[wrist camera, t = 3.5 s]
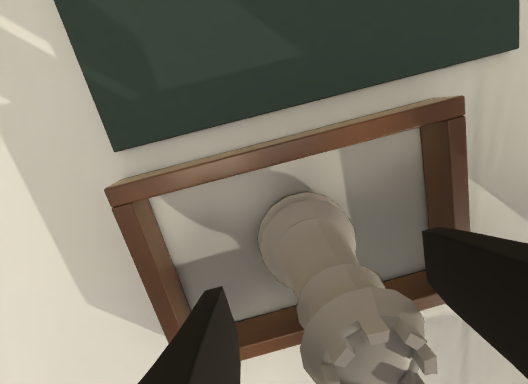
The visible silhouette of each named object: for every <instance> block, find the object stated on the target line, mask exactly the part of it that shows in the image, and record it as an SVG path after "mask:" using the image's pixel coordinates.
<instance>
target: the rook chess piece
mask: <svg viewBox="0 0 528 384" xmlns="http://www.w3.org/2000/svg"><path fill="white" fill-rule="evenodd" d="M258 243H259V247H260V252H261V256H262V257H263V260H264V264H265V265H266V267H267V268H268V269H269V271H270V272H271V273H272V275H273V276H274V277H275V278H276V280H278V281H279V282H281V283H283V284H285V285H286V286H288V287H290V288H292V289H293V291H294V293H295V294H296V296H297V298H298V304H297V313H298V319H299V323H300V324H301V326H302V327H303V328H304V330H305V332H304V335H303V339H302V342H301V346H300V352H301V357H302V362H303V367H304V369H305V370H306V372H307V373H308V374H309V375H310V377H311V378H312V379H313V380H314V381H315V383H316V384H424V382H423V381H422V380H421V378H420V377H419V375H418V374H417V372H418V370H419V368H420V369H421V370H422V372H423V373H424V374H425V375H428V374H437V358H436V355H435V354H434V353H433V352H432V351H431V349H430V348H429V347H428V346H427V345H426V343H427V341H426V339H425V331H424V318H423V317H422V315H421V313H420V311H419V310H418V308H417V306H416V305H415V303H414V301H412V300H410V299H409V298H407V297H405V296H404V295H402V294H401V293H399V292H397V291H396V290H391V289H385V286H384V285H383V283H382V282H381V280H380V278H379V277H378V275H377V274H375V273H374V272H372V271H371V270H369V269H367V268H366V267H364V266H361V265H360V264H359V262H358V260H357V258H356V253H355V250H356V241H355V232H354V228H353V226H352V224H351V222H350V221H349V219H348V218H347V216H346V214H345V213H344V212H343V211H342V210H341V208H340V207H339V205H338V204H336V203H335V202H333V201H332V200H330V199H329V198H327V197H326V196H324V195H319V194H313V193H307V192H305V193H300V194H296V195H291V196H287V197H286V198H284V199H283V200H281V201H280V202H278V203H277V204H275V205H273V206H272V207H271V208H270V210H269V211H268V213H267V214H266V216H265V217H264V218H263V220H262V221H261V225H260V230H259V235H258Z"/></svg>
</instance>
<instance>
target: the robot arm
mask: <svg viewBox="0 0 528 384" xmlns="http://www.w3.org/2000/svg"><path fill="white" fill-rule="evenodd" d="M422 236H423V246H424V257H425V268H426V278H427V282H428V283H429V284H430V286H431V287H432V288H433V289H434V290H435V292H436V293H437V294H438V295H439V296H440V297H441V298H442V300H443V301H444V302H445V303H446V304H447V305H448V306H449V307H450V308H451V309H452V310H453V311H454V312H455V313H456V314H457V315H459V316H460V317H461V318H462V319H463V320H464V321H465V322H466V323H467V324H468V325H469V326H471V327H472V328H473V329H474V330H475V331H476V332H477V333H478V334H479V335H481V336H482V337H483V338H484V339H485V340H486V341H487V342H488V343H489V344H491V345H492V346H493V347H494V348H495V349H496V350H497V351H498V352H499V353H500V354H502V355H503V356H504V357H505V358H506V359H507V360H508V361H509V362H510V363H512V364H513V365H514V366H515V367H516V368H517V369H518V370H519V371H520V372H521V373H522V374H523V375H524V376H525V377H526V378H527V379H528V244H527V243H522V242H517V241H512V240H507V239H502V238H497V237H493V236H488V235H483V234H478V233H473V232H468V231H463V230H458V229H452V228H445V227H436V228H432V229H429V230H425V231H422ZM240 368H241V363H240V349H239V338H238V332H237V329H236V326H235V323H234V320H233V317H232V314H231V311H230V308H229V305H228V302H227V299H226V296H225V293H224V290H223V287H222V286H221V287H217V288H213V289H210V290H206V291H205V292H204V293H203V294H202V296H201V297H200V299H199V300H198V302H197V304H196V305H195V307H194V308H193V310H192V311H191V313H190V314H189V316H188V317H187V319H186V320H185V322H184V323H183V325H182V326H181V328H180V329H179V331H178V332H177V334H176V335H175V336H174V338H173V339H172V340H171V342H170V343H169V345H168V346H167V347H166V349H165V350H164V351H163V353H162V354H161V355H160V357H159V358H158V359H157V361H156V362H155V363H154V365H153V366H152V367H151V368H150V370H149V371H148V372H147V373H146V374H145V376H144V377H143V378H142V379H141V380H140V382H139V383H138V384H240Z"/></svg>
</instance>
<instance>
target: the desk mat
mask: <svg viewBox="0 0 528 384" xmlns="http://www.w3.org/2000/svg"><path fill="white" fill-rule="evenodd" d="M54 2H55V4H56V7H57V9H58V12H59V14H60V17H61V19H62V22H63V25H64V27H65V30H66V32H67V35H68V37H69V40H70V42H71V45H72V47H73V50H74V52H75V55H76V57H77V60H78V62H79V65H80V67H81V70H82V72H83V75H84V77H85V80H86V82H87V85H88V87H89V90H90V92H91V95H92V97H93V100H94V102H95V105H96V107H97V110H98V113H99V115H100V118H101V120H102V123H103V125H104V128H105V130H106V133H107V135H108V138H109V140H110V143H111V145H112V148H113V150H114V152H117V151H121V150H125V149H129V148H133V147H137V146H141V145H145V144H148V143H152V142H156V141H160V140H164V139H168V138H172V137H176V136H180V135H183V134H187V133H191V132H195V131H199V130H203V129H207V128H211V127H215V126H218V125H222V124H226V123H230V122H234V121H238V120H242V119H246V118H250V117H253V116H257V115H261V114H265V113H269V112H273V111H277V110H281V109H285V108H288V107H292V106H296V105H300V104H304V103H308V102H312V101H316V100H320V99H323V98H327V97H331V96H335V95H339V94H343V93H347V92H351V91H355V90H358V89H362V88H366V87H370V86H374V85H378V84H382V83H386V82H390V81H393V80H397V79H401V78H405V77H409V76H413V75H417V74H421V73H425V72H428V71H432V70H436V69H440V68H444V67H448V66H452V65H456V64H460V63H463V62H467V61H471V60H475V59H479V58H483V57H487V56H491V55H494V54H498V53H502V52H506V51H510V50H514V49H518V48H519V0H54Z"/></svg>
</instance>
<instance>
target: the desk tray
mask: <svg viewBox="0 0 528 384" xmlns="http://www.w3.org/2000/svg"><path fill="white" fill-rule="evenodd" d="M463 115H465V99H464V96H452V97H442V98H433V99H429V100H426V101H422V102H418V103H414V104H410V105H406V106H402V107H399V108H395V109H391V110H387V111H383V112H379V113H375V114H372V115H368V116H364V117H360V118H356V119H352V120H349V121H345V122H341V123H337V124H333V125H329V126H325V127H322V128H318V129H314V130H310V131H306V132H302V133H299V134H295V135H291V136H287V137H283V138H279V139H275V140H272V141H268V142H264V143H260V144H256V145H252V146H248V147H245V148H241V149H237V150H233V151H229V152H225V153H222V154H218V155H214V156H210V157H206V158H202V159H198V160H195V161H191V162H187V163H183V164H179V165H175V166H172V167H168V168H164V169H160V170H156V171H152V172H148V173H145V174H141V175H137V176H133V177H129V178H125V179H122V180H120V181H118V182H116V183H115V184H113V185H111V186H109V187H107V188H105V189H104V191H105V194H106V196H107V198H108V201H109V203H110V205H111V207H113V208H112V211H113V214H114V216H115V218H116V221H117V223H118V225H119V228H120V230H121V232H122V235H123V237H124V239H125V242H126V244H127V247H128V249H129V251H130V254H131V256H132V258H133V261H134V263H135V265H136V268H137V270H138V272H139V275H140V277H141V279H142V282H143V284H144V287H145V289H146V291H147V294H148V296H149V298H150V301H151V303H152V305H153V308H154V310H155V312H156V315H157V317H158V319H159V322H160V324H161V327H162V329H163V331H164V334H165V336H166V338H167V341H168V343H170V342H171V340H172V339H173V338H174V336H175V335H176V334H177V332H178V331H179V329H180V328H181V326H182V325H183V323H184V322H185V320H186V319H187V317H188V316H189V314H190V313H191V311H190V308H189V305H188V303H187V300H186V297H185V295H184V292H183V290H182V287H181V284H180V282H179V279H178V276H177V274H176V271H175V269H174V266H173V263H172V261H171V258H170V255H169V253H168V250H167V248H166V245H165V242H164V240H163V237H162V235H161V232H160V229H159V227H158V224H157V221H156V219H155V216H154V214H153V211H152V208H151V206H150V203H149V200H148V198H151V197H155V196H159V195H163V194H166V193H170V192H174V191H178V190H182V189H185V188H189V187H193V186H197V185H201V184H204V183H208V182H212V181H216V180H220V179H224V178H227V177H231V176H235V175H239V174H243V173H246V172H250V171H254V170H258V169H262V168H265V167H269V166H273V165H277V164H281V163H285V162H288V161H292V160H296V159H300V158H304V157H307V156H311V155H315V154H319V153H323V152H327V151H330V150H334V149H338V148H342V147H346V146H349V145H353V144H357V143H361V142H365V141H368V140H372V139H376V138H380V137H384V136H388V135H391V134H395V133H399V132H403V131H407V130H410V129H414V128H418V127H421V138H422V149H423V161H424V172H425V184H426V195H427V207H428V219H429V229H432V228H436V227H445V228H452V229H458V230H463V231H468V232H470V217H469V193H468V169H467V146H466V122H465V116H463ZM382 283H383V285H384V286H385V289H391V290H396V291H397V292H399V293H401V294H402V295H404V296H405V297H407V298H409V299H410V300H412V301H414V303H415V305H416V306H417V308H418V310H419V311H421V310H424V309H428V308H432V307H435V306H439V305H442V304H446V303H445V302H444V301H443V300H442V298H441V297H440V296H439V295H438V294H437V293H436V292H435V290H434V289H433V288H432V287H431V286H430V284H429V283H428V282H427V278H426V270H425V271H421V272H418V273H414V274H411V275H407V276H403V277H400V278H396V279H392V280H389V281H385V282H382ZM235 326H236V329H237V332H238V338H239V349H240V361H242V360H245V359H249V358H253V357H256V356H260V355H263V354H267V353H270V352H274V351H278V350H281V349H285V348H288V347H292V346H295V345H299V344H301V342H302V339H303V335H304V332H305V330H304V328H303V327H302V326H301V324H300V323H299V319H298V313H297V306H294V307H291V308H287V309H284V310H280V311H276V312H273V313H269V314H265V315H262V316H258V317H255V318H251V319H247V320H244V321H240V322H236V323H235Z"/></svg>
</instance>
